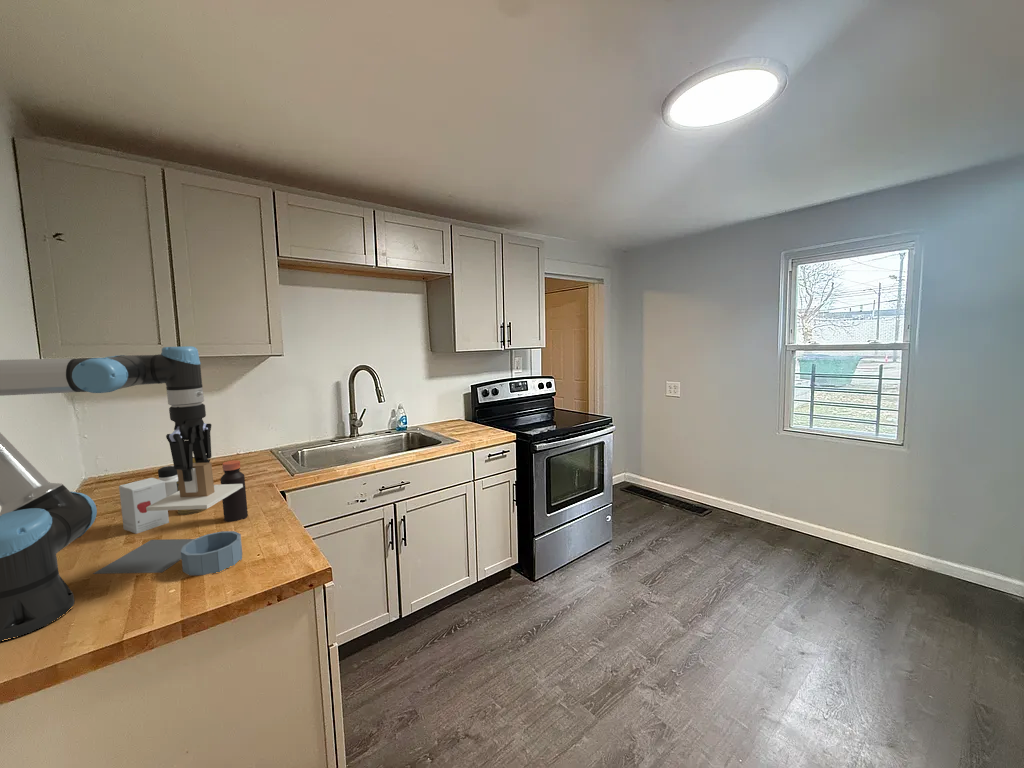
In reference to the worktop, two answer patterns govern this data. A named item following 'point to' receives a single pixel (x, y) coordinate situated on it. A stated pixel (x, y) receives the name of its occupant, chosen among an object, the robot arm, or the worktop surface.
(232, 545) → the bowl
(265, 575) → the worktop surface
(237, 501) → the vinegar
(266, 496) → the worktop surface
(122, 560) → the mat
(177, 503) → the lid
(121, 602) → the worktop surface
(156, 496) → the supplement box
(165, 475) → the medicine bottle
